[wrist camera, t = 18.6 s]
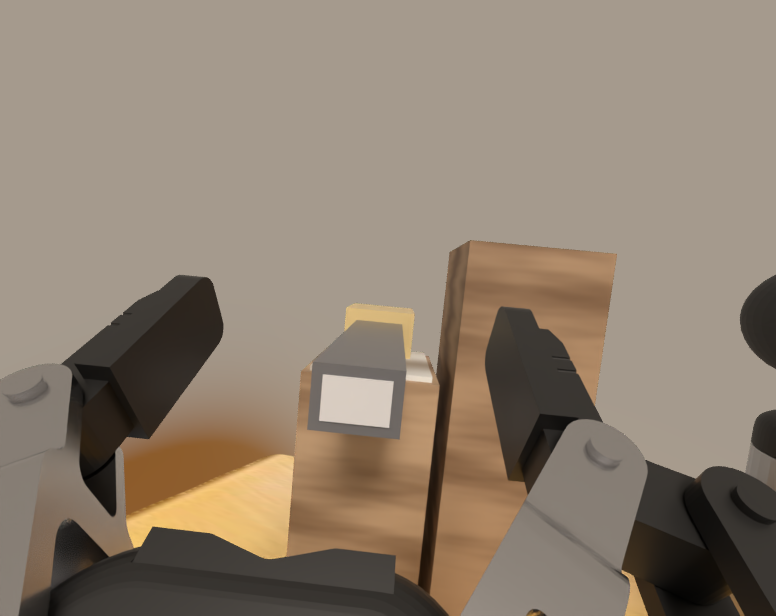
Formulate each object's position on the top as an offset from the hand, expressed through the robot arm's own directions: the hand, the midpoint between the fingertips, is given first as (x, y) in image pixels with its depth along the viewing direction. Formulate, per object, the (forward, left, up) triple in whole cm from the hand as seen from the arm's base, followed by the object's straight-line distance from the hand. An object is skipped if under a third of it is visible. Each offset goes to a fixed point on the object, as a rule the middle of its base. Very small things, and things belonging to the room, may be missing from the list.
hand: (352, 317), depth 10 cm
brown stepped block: (-17, -12, -28) cm, 34 cm away
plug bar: (-10, -12, -6) cm, 17 cm away
